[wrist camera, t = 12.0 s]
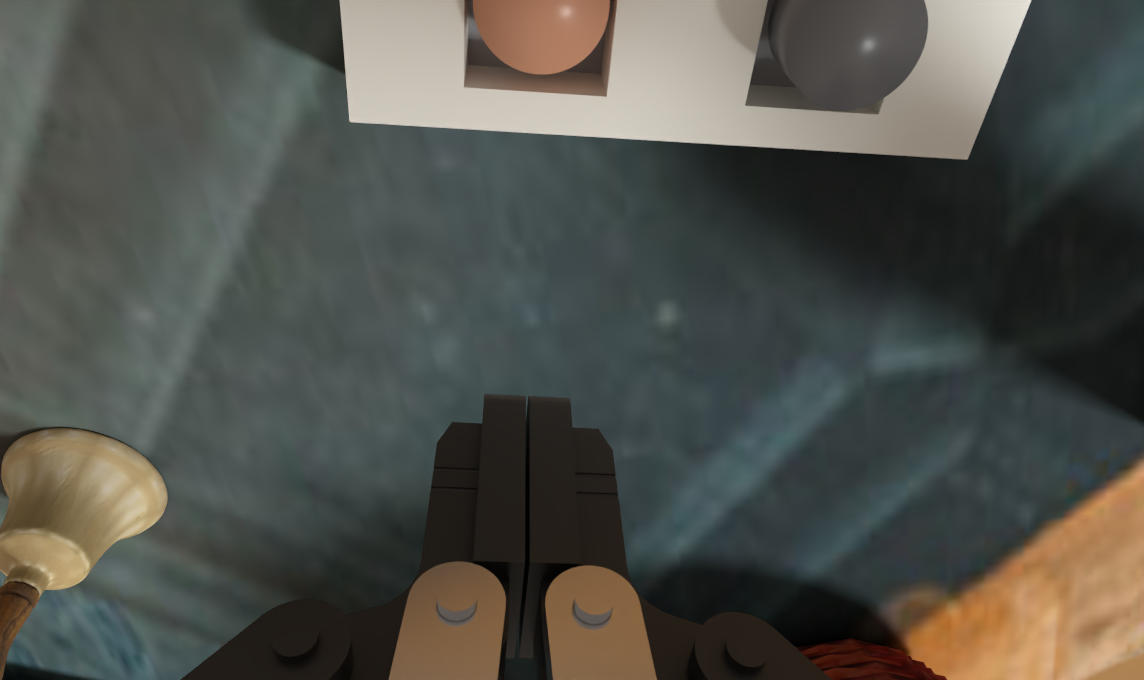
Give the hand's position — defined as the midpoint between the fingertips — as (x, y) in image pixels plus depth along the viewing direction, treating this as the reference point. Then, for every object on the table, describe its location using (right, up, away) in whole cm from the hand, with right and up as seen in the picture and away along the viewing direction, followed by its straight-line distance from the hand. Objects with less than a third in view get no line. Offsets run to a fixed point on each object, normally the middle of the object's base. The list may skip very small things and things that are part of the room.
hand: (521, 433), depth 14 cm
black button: (+10, +13, +13) cm, 21 cm away
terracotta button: (0, +14, +14) cm, 19 cm away
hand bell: (-26, -6, +29) cm, 39 cm away
